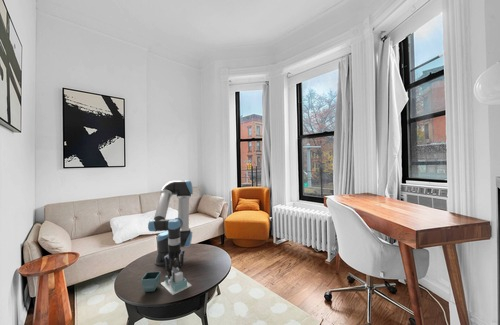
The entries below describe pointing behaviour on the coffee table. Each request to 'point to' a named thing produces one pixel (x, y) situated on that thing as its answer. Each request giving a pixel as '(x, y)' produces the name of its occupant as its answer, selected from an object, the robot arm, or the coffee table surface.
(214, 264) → the coffee table surface
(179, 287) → the board
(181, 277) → the bar
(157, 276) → the flower pot
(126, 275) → the coffee table surface
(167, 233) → the robot arm
